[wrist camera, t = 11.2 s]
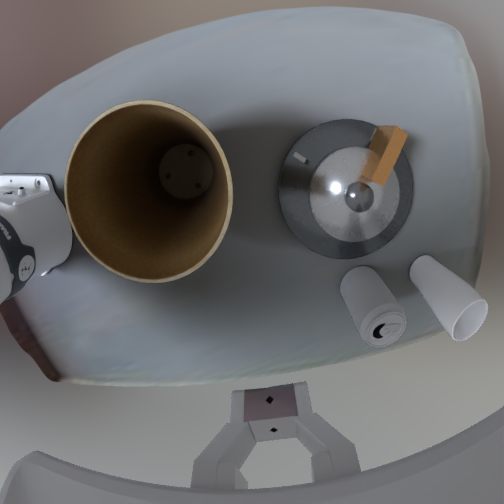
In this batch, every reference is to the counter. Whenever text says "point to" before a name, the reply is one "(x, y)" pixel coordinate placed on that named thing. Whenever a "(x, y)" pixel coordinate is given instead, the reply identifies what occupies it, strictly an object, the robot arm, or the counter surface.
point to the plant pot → (149, 191)
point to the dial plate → (297, 179)
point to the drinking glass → (449, 297)
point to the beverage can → (373, 307)
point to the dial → (357, 187)
